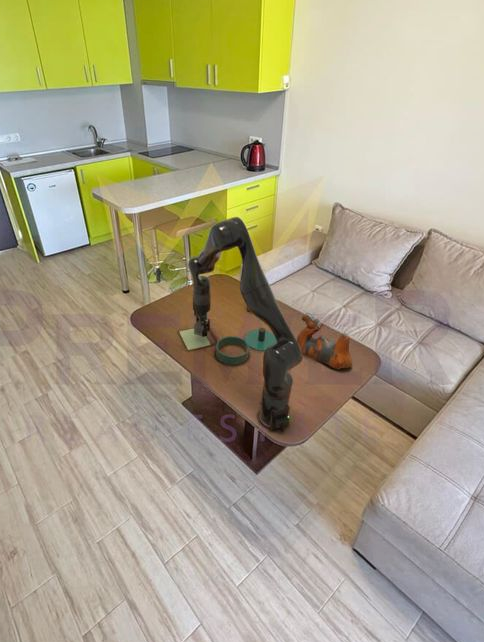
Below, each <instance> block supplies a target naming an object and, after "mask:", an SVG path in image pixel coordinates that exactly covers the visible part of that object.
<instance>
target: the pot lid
mask: <svg viewBox="0 0 484 642" xmlns="http://www.w3.org/2000/svg"><path fill="white" fill-rule="evenodd" d="M244 340H245V341H246V342H247V343H248V344H249V348H250V349H252V350H255V351H258V352H265V350H266V349H267V348H268V347H270V346H271V345H273V344H275V343H277V340H276V338H275V336H274V334H273V332H272V331H269V330H266V328H265V327H259V328H258V329H254V330H250V331H248V332H247V333H246V334H245V336H244Z"/></svg>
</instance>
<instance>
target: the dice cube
mask: <svg viewBox="0 0 484 642" xmlns="http://www.w3.org/2000/svg"><path fill="white" fill-rule="evenodd" d="M202 323H203V322H202ZM193 328H194V334H196V335H199V336H201V337H203V336H202V327H201V325H200V322H199V320H198V321H197V322H196V321H195V323H194V324H193ZM209 333H210V330H209V331H207V334H209Z"/></svg>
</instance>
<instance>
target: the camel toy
mask: <svg viewBox="0 0 484 642" xmlns="http://www.w3.org/2000/svg"><path fill="white" fill-rule="evenodd" d="M301 320H302V321H303V322H305V325H306V327H304V328H303V329H302V330H301V331H300V332H298V335H297V336H296V340H297V342H298V344H299V346H300V348H301V351H302V356H303V357H307V358H309V359H311V360H314V361H317V362H320V363H323V364H325V365H327V366H329V367H331V368H333V369H336V370H340V369H348V368H352V367H353V359H352V356H351V352H350V335H349V334H348V333H346V332H343V333H341V334H340V335H339V337H338V339H337V341H336V342H332V341H330V340H329V339H328V338H327V337H326V336H325V335H320V336H318V337H317V338H314V337H313V335H315V334H316V333H318V332H319V331H320V330H321V329H322V327H324V324H323V322H321V321H320V319H319V318H315V317H314V316H313V315H312V314H311V313H310V312H306V313H304V314H303V315H302V316H301Z"/></svg>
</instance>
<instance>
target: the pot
mask: <svg viewBox="0 0 484 642" xmlns="http://www.w3.org/2000/svg"><path fill="white" fill-rule="evenodd" d="M229 345H235V346H238V347H241V348H242V349H244V351H245V352H244V353H241V354H240V355H228V354H224V353H223V352H222V351H220V349H221V348H222V347H224V346H229ZM215 346H216V347H215V357H216V359H217V360H218V361H219V362H220V363H223V364H226V365H228V366H236V365H237V366H238V365H242V364H244V363H245V362H246V361H247V360H248V358H249V355H250V347H249V344H248V343H247V342H246V341H245V338H242V337H240V336H236V335H228V336H223V337H221V338H220V339H219V340H217V342H216V345H215Z"/></svg>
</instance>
